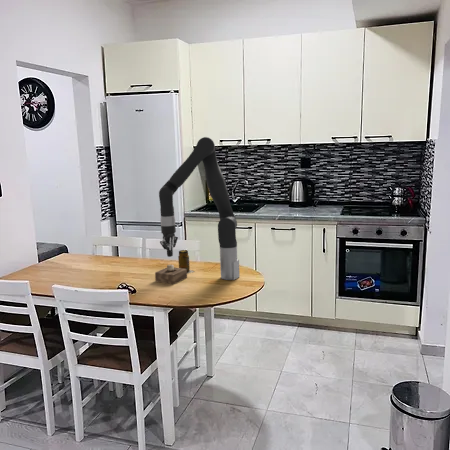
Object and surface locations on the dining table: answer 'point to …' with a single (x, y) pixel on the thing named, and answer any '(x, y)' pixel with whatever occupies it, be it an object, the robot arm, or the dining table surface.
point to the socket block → (171, 275)
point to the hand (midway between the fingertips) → (170, 256)
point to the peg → (170, 268)
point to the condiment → (184, 260)
